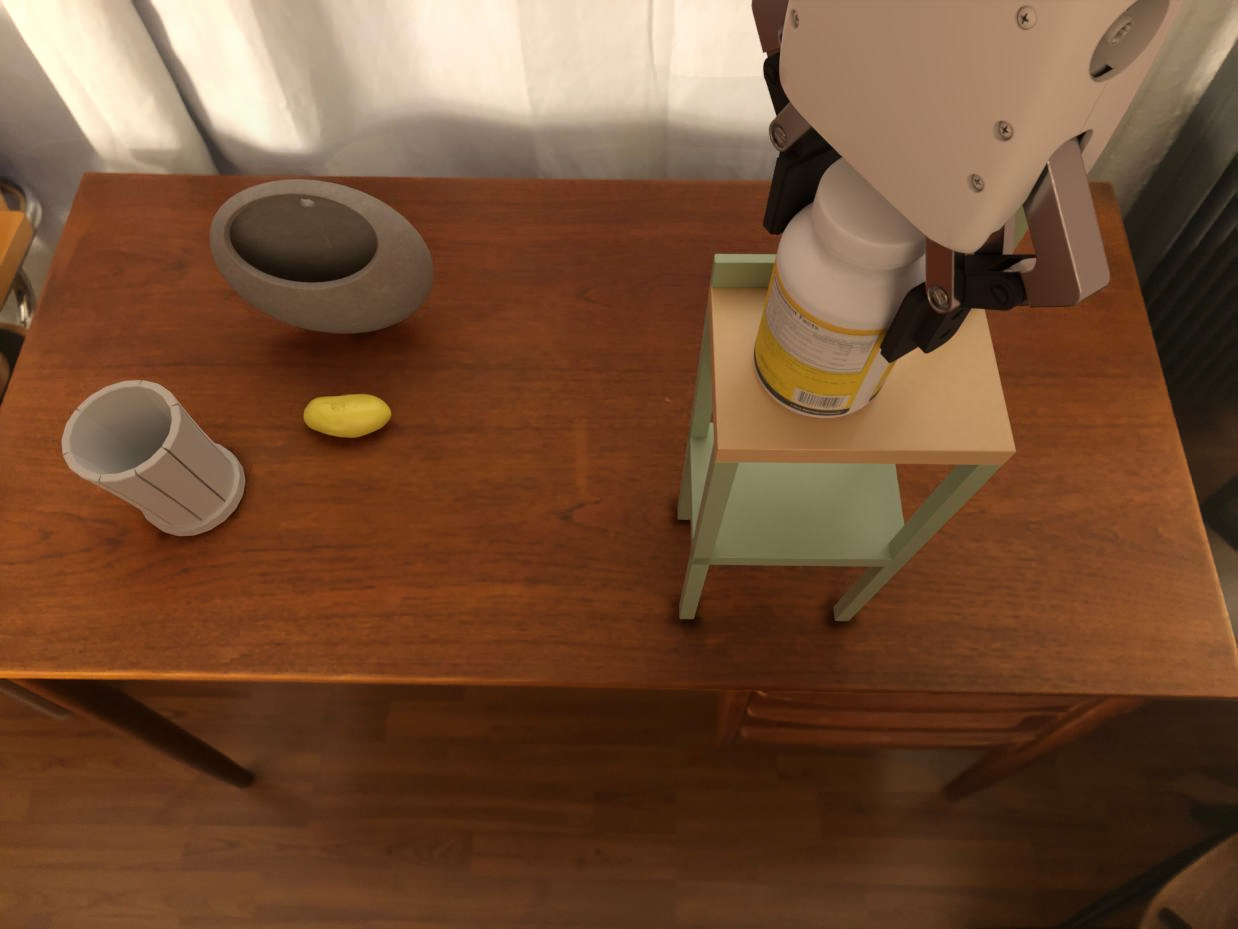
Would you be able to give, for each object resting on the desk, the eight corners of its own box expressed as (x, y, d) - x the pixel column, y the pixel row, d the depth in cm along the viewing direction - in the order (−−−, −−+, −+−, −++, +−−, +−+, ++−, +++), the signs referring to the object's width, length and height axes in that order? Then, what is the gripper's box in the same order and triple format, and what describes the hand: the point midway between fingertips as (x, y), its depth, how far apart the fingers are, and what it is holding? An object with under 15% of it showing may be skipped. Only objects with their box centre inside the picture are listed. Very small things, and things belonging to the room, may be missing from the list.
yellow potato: (316, 403, 75) (300, 382, 72) (399, 407, 75) (388, 385, 71) (306, 443, 73) (290, 423, 70) (392, 446, 73) (380, 426, 70)
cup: (111, 508, 71) (17, 447, 60) (175, 425, 74) (98, 354, 64) (207, 553, 69) (129, 499, 58) (268, 466, 72) (205, 400, 62)
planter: (260, 362, 77) (156, 226, 60) (269, 302, 80) (173, 158, 63) (451, 350, 78) (401, 212, 61) (453, 291, 81) (406, 144, 64)
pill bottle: (864, 307, 41) (945, 122, 30) (898, 416, 38) (1000, 255, 28) (739, 320, 41) (777, 138, 30) (764, 431, 38) (816, 274, 27)
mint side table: (849, 621, 66) (1528, -65, 16) (679, 619, 66) (832, -64, 16) (836, 509, 70) (1343, -306, 20) (677, 507, 70) (794, -303, 21)
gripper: (1553, -111, 15) (1070, 388, 31) (922, -435, 21) (795, 117, 37) (1284, 38, 13) (922, 482, 29) (687, -363, 19) (661, 182, 36)
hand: (852, 275), depth 33 cm, fingers open, 7 cm apart
